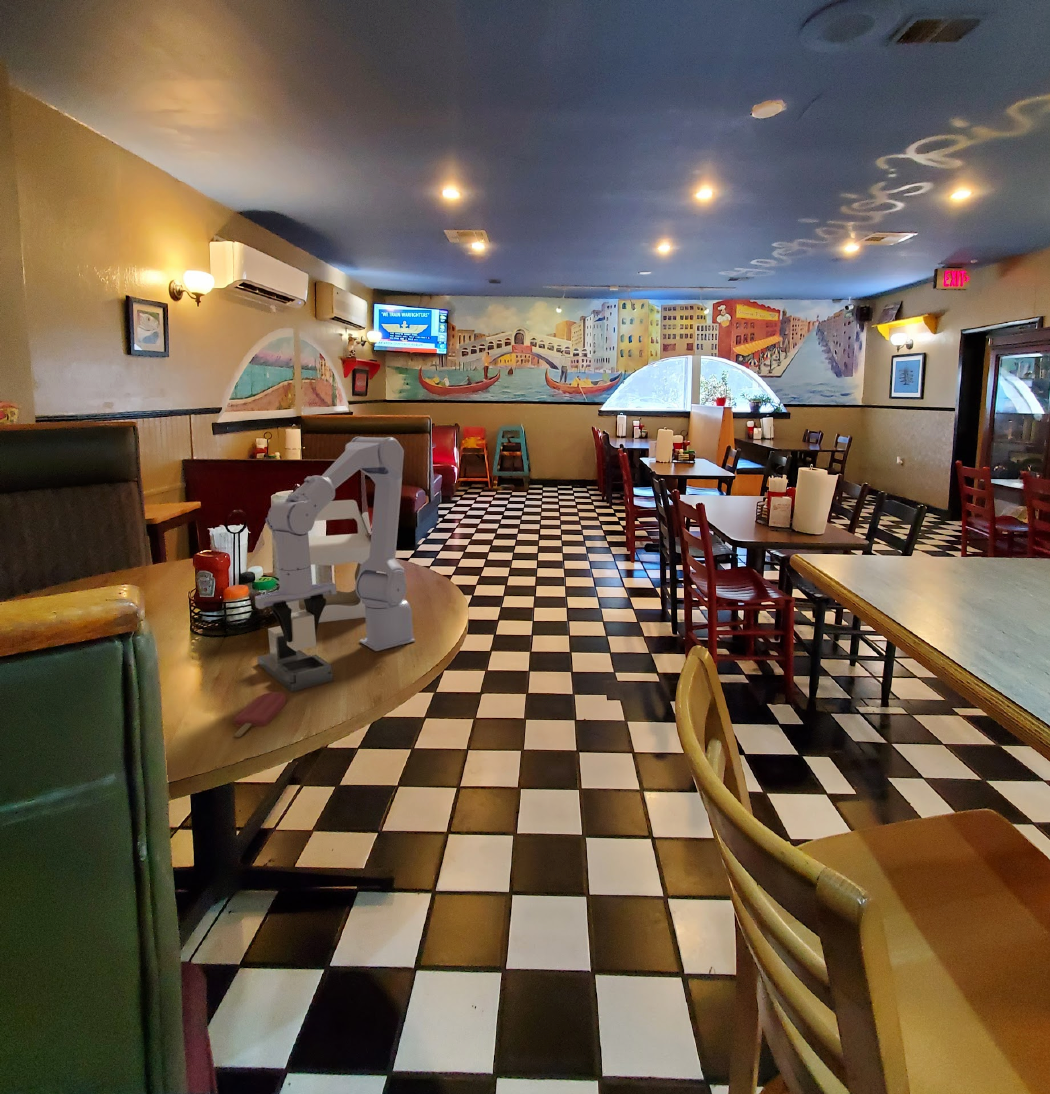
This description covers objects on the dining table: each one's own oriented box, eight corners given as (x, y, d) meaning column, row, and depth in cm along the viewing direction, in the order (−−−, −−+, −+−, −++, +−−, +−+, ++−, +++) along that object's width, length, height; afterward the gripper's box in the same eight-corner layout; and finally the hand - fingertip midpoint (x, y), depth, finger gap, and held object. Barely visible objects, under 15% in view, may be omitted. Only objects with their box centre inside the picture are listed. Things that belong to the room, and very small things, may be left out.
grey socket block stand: (296, 654, 142) (293, 619, 141) (333, 680, 129) (330, 642, 127) (257, 663, 137) (254, 628, 136) (291, 692, 124) (287, 653, 122)
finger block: (316, 646, 128) (313, 615, 126) (295, 651, 125) (292, 619, 124) (307, 639, 131) (304, 609, 129) (286, 644, 128) (283, 614, 127)
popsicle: (219, 731, 107) (261, 691, 122) (220, 740, 107) (262, 699, 122) (252, 732, 107) (291, 691, 121) (253, 741, 107) (291, 699, 122)
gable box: (372, 601, 179) (365, 495, 173) (379, 616, 167) (372, 502, 161) (282, 611, 172) (272, 500, 166) (282, 627, 160) (271, 508, 154)
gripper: (323, 557, 132) (328, 624, 135) (246, 569, 123) (253, 641, 126) (339, 563, 127) (344, 633, 130) (259, 576, 118) (267, 651, 121)
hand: (300, 637), depth 128 cm, fingers closed on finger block, 4 cm apart
